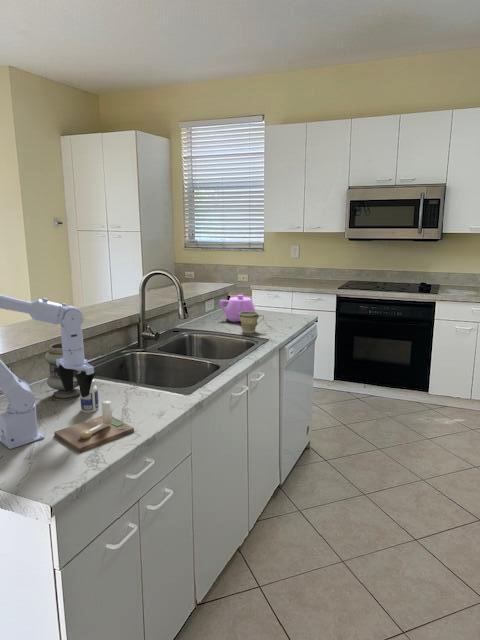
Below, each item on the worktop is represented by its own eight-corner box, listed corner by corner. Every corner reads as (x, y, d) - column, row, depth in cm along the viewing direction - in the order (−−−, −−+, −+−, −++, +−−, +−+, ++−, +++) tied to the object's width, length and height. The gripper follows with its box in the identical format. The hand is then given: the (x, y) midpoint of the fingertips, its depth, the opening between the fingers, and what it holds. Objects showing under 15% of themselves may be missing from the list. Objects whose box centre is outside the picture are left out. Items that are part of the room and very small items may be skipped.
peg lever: (85, 439, 130) (83, 415, 129) (77, 437, 132) (76, 412, 130) (114, 425, 139) (113, 402, 138) (107, 422, 141) (106, 399, 139)
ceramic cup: (238, 333, 251) (238, 314, 249) (240, 329, 261) (240, 311, 259) (263, 334, 250) (263, 315, 248) (264, 329, 260) (264, 311, 257)
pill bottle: (92, 405, 157) (90, 376, 155) (102, 409, 154) (100, 380, 152) (77, 410, 153) (75, 381, 151) (87, 414, 150) (85, 384, 148)
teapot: (218, 317, 290) (218, 292, 287) (253, 317, 292) (253, 292, 288) (220, 326, 268) (220, 299, 265) (257, 325, 270) (258, 299, 266)
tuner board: (79, 452, 126) (79, 447, 126) (54, 435, 136) (54, 431, 135) (134, 431, 138) (133, 427, 138) (107, 417, 148) (107, 413, 147)
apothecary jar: (51, 390, 170) (47, 340, 166) (86, 387, 173) (83, 339, 169) (45, 403, 159) (40, 350, 155) (83, 400, 161) (79, 348, 157)
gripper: (101, 348, 135) (104, 394, 138) (69, 341, 143) (73, 384, 146) (80, 355, 130) (84, 402, 133) (48, 346, 138) (52, 391, 141)
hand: (77, 393), depth 139 cm, fingers open, 7 cm apart
